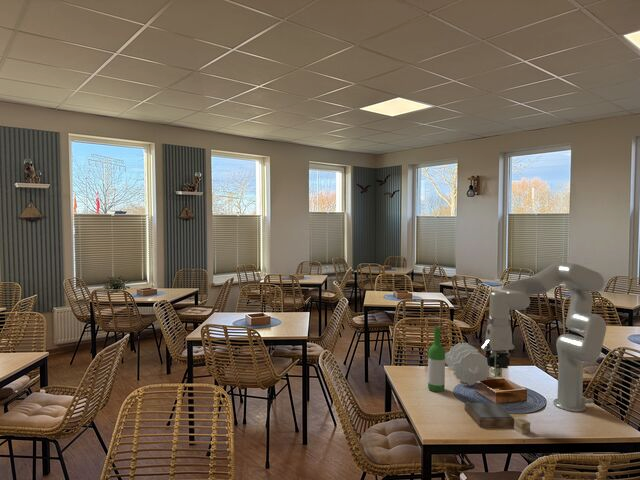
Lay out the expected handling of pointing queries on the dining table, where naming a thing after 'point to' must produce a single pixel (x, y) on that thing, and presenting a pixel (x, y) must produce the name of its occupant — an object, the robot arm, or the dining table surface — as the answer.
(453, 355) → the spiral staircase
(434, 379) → the wine bottle
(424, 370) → the dining table surface
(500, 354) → the pneumatic valve
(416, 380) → the dining table surface
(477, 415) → the stand
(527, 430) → the oak block
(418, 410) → the dining table surface
